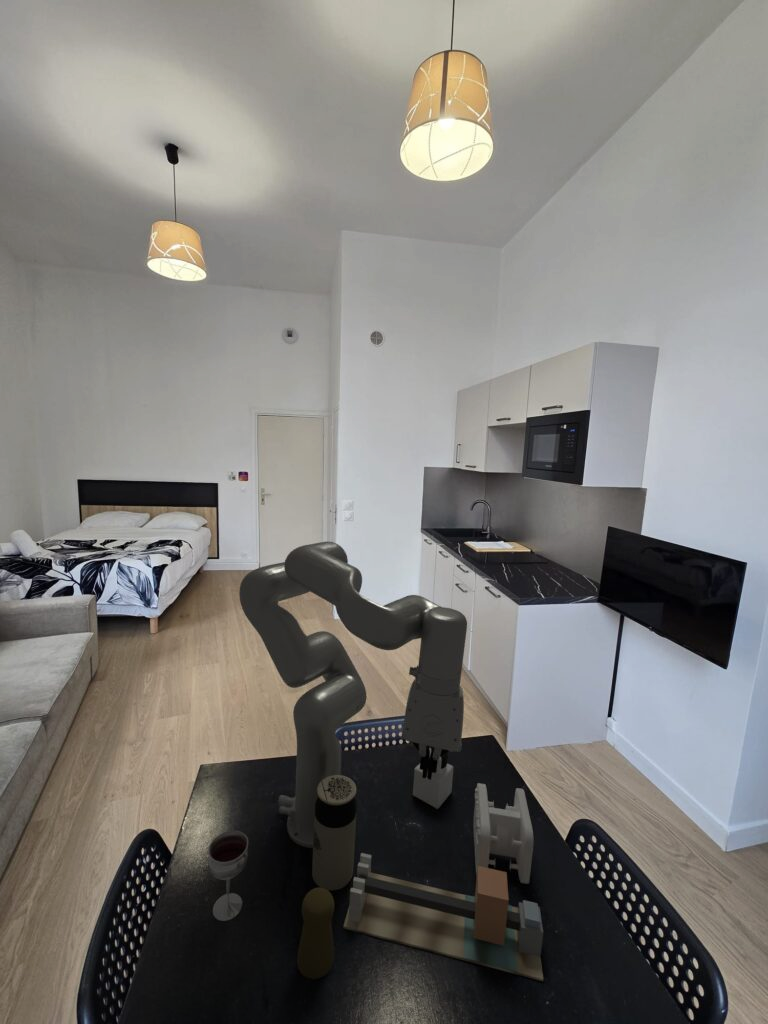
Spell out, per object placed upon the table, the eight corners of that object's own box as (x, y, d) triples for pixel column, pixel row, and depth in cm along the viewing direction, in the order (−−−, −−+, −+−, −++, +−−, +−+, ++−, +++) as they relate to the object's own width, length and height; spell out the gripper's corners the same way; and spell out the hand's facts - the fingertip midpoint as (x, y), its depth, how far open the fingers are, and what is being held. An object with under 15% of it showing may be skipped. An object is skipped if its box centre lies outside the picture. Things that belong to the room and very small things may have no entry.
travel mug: (350, 852, 93) (355, 772, 90) (355, 889, 85) (360, 802, 83) (311, 856, 91) (315, 775, 89) (312, 894, 83) (316, 806, 81)
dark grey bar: (356, 890, 82) (357, 882, 82) (358, 882, 83) (359, 874, 83) (528, 933, 76) (529, 924, 76) (527, 923, 78) (528, 915, 78)
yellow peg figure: (301, 986, 69) (304, 923, 68) (293, 946, 75) (295, 887, 73) (339, 970, 72) (342, 908, 70) (328, 932, 77) (331, 875, 76)
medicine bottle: (426, 779, 115) (430, 735, 114) (451, 792, 111) (455, 747, 110) (411, 795, 109) (415, 749, 108) (437, 810, 105) (441, 762, 104)
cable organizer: (530, 896, 86) (536, 841, 84) (473, 885, 87) (478, 831, 86) (518, 832, 100) (523, 784, 99) (470, 824, 102) (474, 777, 100)
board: (343, 928, 78) (343, 925, 78) (359, 871, 89) (359, 869, 89) (543, 981, 72) (543, 978, 72) (534, 913, 82) (534, 911, 82)
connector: (518, 953, 75) (521, 920, 75) (516, 926, 80) (519, 895, 79) (540, 959, 75) (544, 926, 74) (536, 932, 79) (540, 900, 78)
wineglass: (204, 929, 76) (205, 866, 75) (210, 891, 83) (210, 832, 81) (246, 922, 78) (247, 860, 76) (248, 885, 84) (250, 827, 83)
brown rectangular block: (473, 937, 76) (477, 893, 75) (473, 908, 81) (477, 865, 80) (503, 945, 75) (508, 900, 74) (502, 915, 80) (506, 872, 79)
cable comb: (348, 921, 79) (349, 892, 78) (360, 878, 87) (361, 851, 86) (359, 924, 79) (360, 895, 78) (370, 880, 87) (371, 854, 86)
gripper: (392, 681, 77) (382, 777, 80) (481, 699, 74) (468, 799, 76) (400, 661, 84) (391, 750, 87) (482, 677, 81) (470, 769, 84)
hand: (427, 773), depth 82 cm, fingers closed
